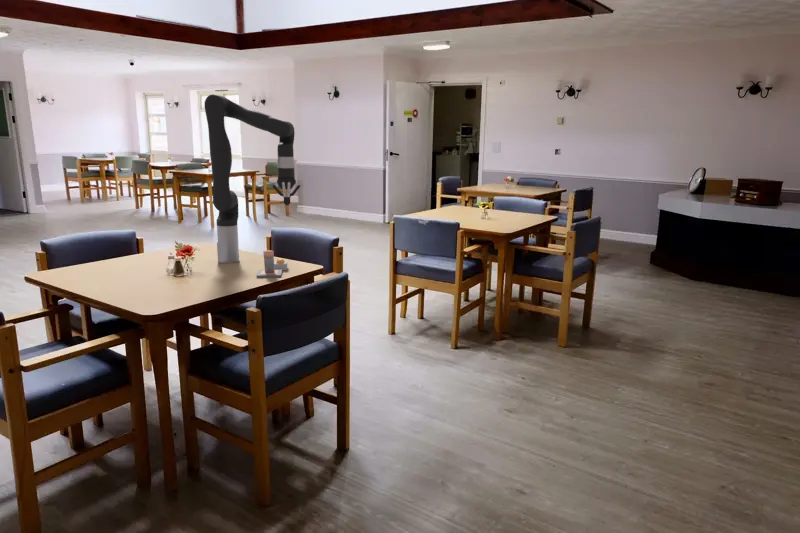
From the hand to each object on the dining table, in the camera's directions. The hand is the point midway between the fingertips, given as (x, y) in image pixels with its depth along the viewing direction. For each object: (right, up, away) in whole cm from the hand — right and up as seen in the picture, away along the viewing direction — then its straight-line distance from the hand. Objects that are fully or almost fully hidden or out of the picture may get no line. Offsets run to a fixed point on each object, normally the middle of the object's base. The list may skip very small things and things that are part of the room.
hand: (287, 205), depth 259 cm
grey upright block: (-4, -30, -17) cm, 35 cm away
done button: (-2, -28, -7) cm, 29 cm away
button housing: (-1, -29, -7) cm, 30 cm away
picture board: (-4, -32, -17) cm, 36 cm away
